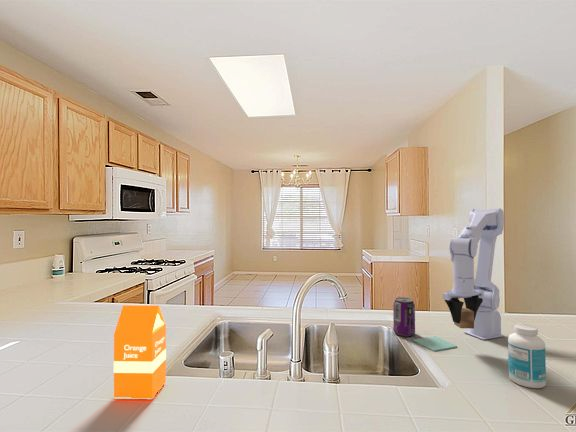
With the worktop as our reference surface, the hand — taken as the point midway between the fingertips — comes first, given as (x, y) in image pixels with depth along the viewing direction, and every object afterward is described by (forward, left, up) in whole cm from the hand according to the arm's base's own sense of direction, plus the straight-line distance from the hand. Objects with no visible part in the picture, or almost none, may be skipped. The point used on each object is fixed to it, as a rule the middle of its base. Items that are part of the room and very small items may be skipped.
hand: (463, 321), depth 102 cm
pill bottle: (+2, +21, -9) cm, 23 cm away
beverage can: (+9, -17, -9) cm, 21 cm away
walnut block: (0, 0, -1) cm, 1 cm away
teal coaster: (+6, -6, -8) cm, 12 cm away
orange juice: (+91, -6, -9) cm, 92 cm away
